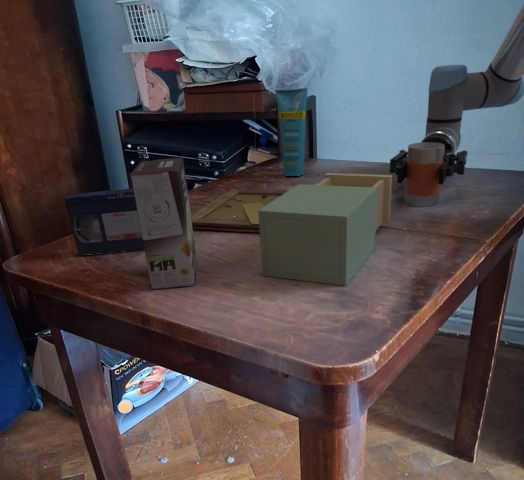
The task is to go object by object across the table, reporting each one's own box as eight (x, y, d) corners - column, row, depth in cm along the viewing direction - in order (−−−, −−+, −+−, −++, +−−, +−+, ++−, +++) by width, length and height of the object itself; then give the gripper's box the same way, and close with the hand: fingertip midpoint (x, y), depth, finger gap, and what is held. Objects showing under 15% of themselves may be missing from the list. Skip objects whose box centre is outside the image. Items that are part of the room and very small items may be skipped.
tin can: (442, 198, 105) (447, 142, 100) (435, 207, 100) (441, 149, 95) (408, 196, 108) (412, 141, 103) (400, 205, 103) (404, 148, 98)
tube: (277, 178, 130) (273, 90, 120) (280, 173, 134) (276, 88, 124) (308, 177, 128) (306, 88, 119) (310, 172, 132) (308, 86, 123)
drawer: (335, 210, 100) (335, 167, 96) (395, 214, 96) (398, 169, 92) (299, 241, 87) (297, 193, 83) (368, 247, 82) (369, 196, 78)
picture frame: (277, 234, 93) (314, 198, 112) (276, 224, 92) (314, 189, 111) (183, 229, 99) (233, 195, 118) (181, 220, 98) (232, 187, 117)
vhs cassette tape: (77, 257, 90) (62, 198, 85) (81, 251, 93) (67, 193, 88) (186, 247, 91) (177, 187, 86) (187, 241, 93) (178, 183, 88)
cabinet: (300, 242, 89) (298, 184, 84) (374, 249, 84) (377, 187, 79) (262, 275, 78) (257, 210, 73) (346, 286, 73) (346, 216, 68)
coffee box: (195, 286, 76) (179, 170, 68) (151, 290, 76) (128, 174, 68) (198, 262, 84) (183, 156, 76) (157, 266, 84) (138, 160, 76)
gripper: (482, 169, 114) (474, 198, 96) (389, 168, 121) (366, 195, 103) (487, 132, 110) (480, 155, 92) (391, 132, 117) (367, 154, 99)
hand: (420, 176), depth 97 cm, fingers closed on tin can, 7 cm apart
